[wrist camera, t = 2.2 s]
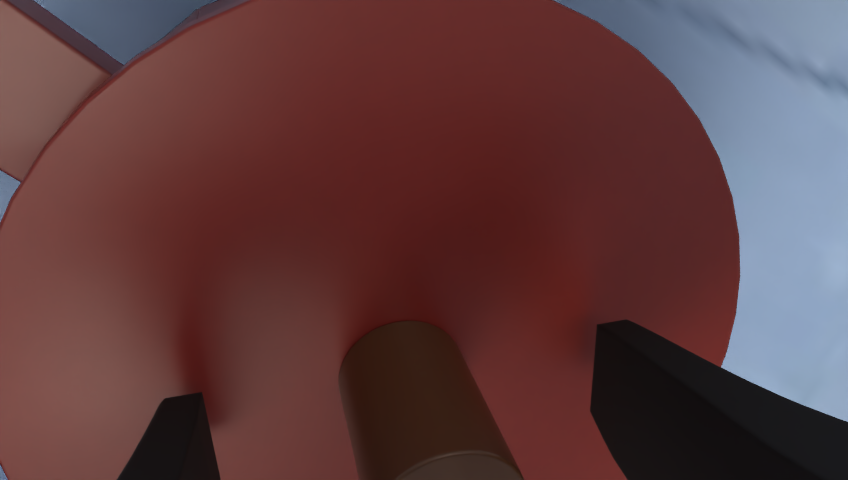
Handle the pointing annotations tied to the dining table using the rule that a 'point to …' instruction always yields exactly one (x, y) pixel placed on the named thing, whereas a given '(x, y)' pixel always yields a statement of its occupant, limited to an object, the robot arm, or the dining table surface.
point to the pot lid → (359, 244)
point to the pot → (47, 77)
